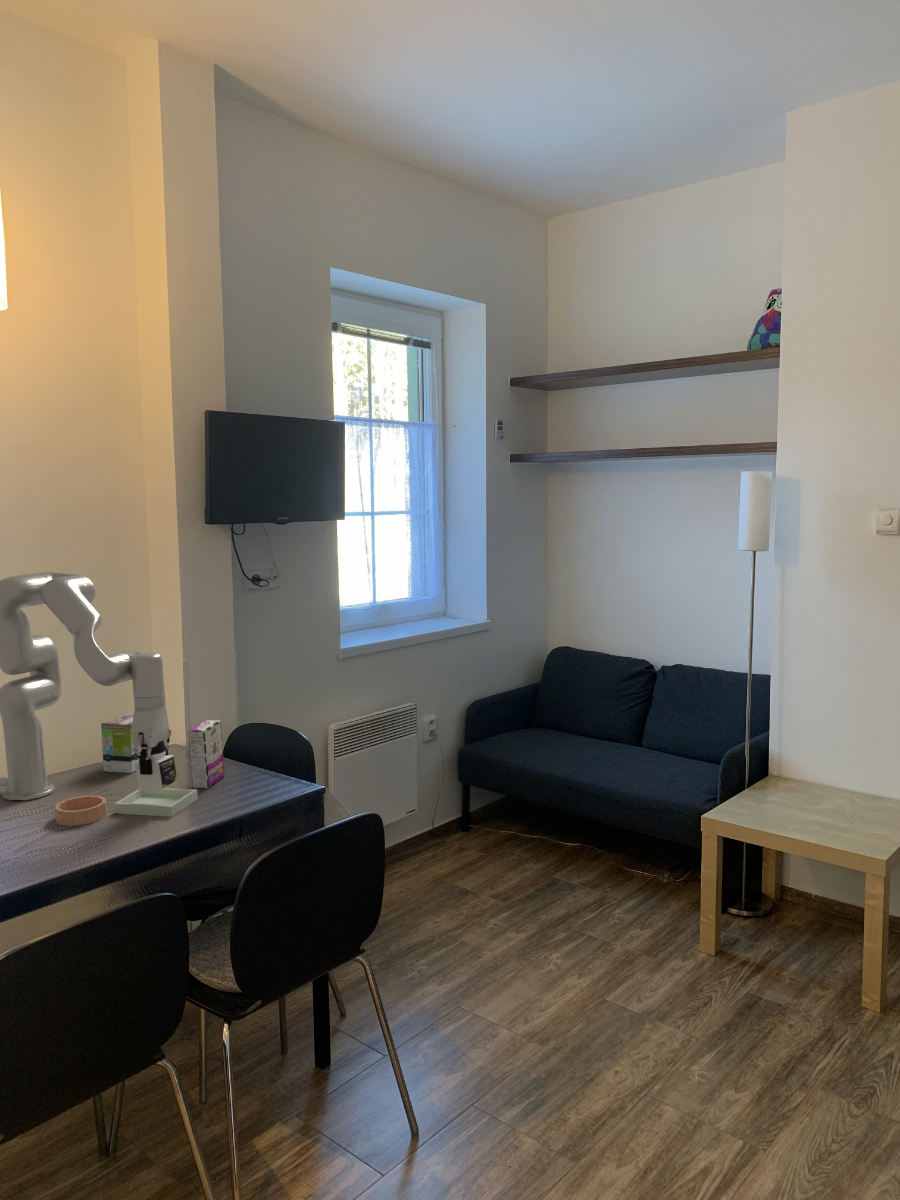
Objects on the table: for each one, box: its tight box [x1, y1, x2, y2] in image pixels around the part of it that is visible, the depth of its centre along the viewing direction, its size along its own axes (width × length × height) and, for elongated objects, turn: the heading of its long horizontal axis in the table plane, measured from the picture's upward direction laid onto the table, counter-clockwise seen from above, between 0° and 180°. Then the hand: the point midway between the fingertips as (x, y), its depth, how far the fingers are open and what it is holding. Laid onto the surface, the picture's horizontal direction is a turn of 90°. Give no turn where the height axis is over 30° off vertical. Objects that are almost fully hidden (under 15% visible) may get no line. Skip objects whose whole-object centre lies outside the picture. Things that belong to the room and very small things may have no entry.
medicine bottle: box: [135, 741, 178, 791], centre depth 232 cm, size 7×7×12 cm
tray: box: [113, 787, 199, 818], centre depth 233 cm, size 16×13×3 cm
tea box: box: [100, 711, 139, 774], centre depth 269 cm, size 15×10×15 cm, turn 167°
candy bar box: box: [188, 719, 226, 789], centre depth 251 cm, size 11×5×16 cm, turn 171°
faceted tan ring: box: [54, 795, 108, 826], centre depth 227 cm, size 12×12×4 cm
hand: (154, 769), depth 232 cm, fingers closed on medicine bottle, 7 cm apart
